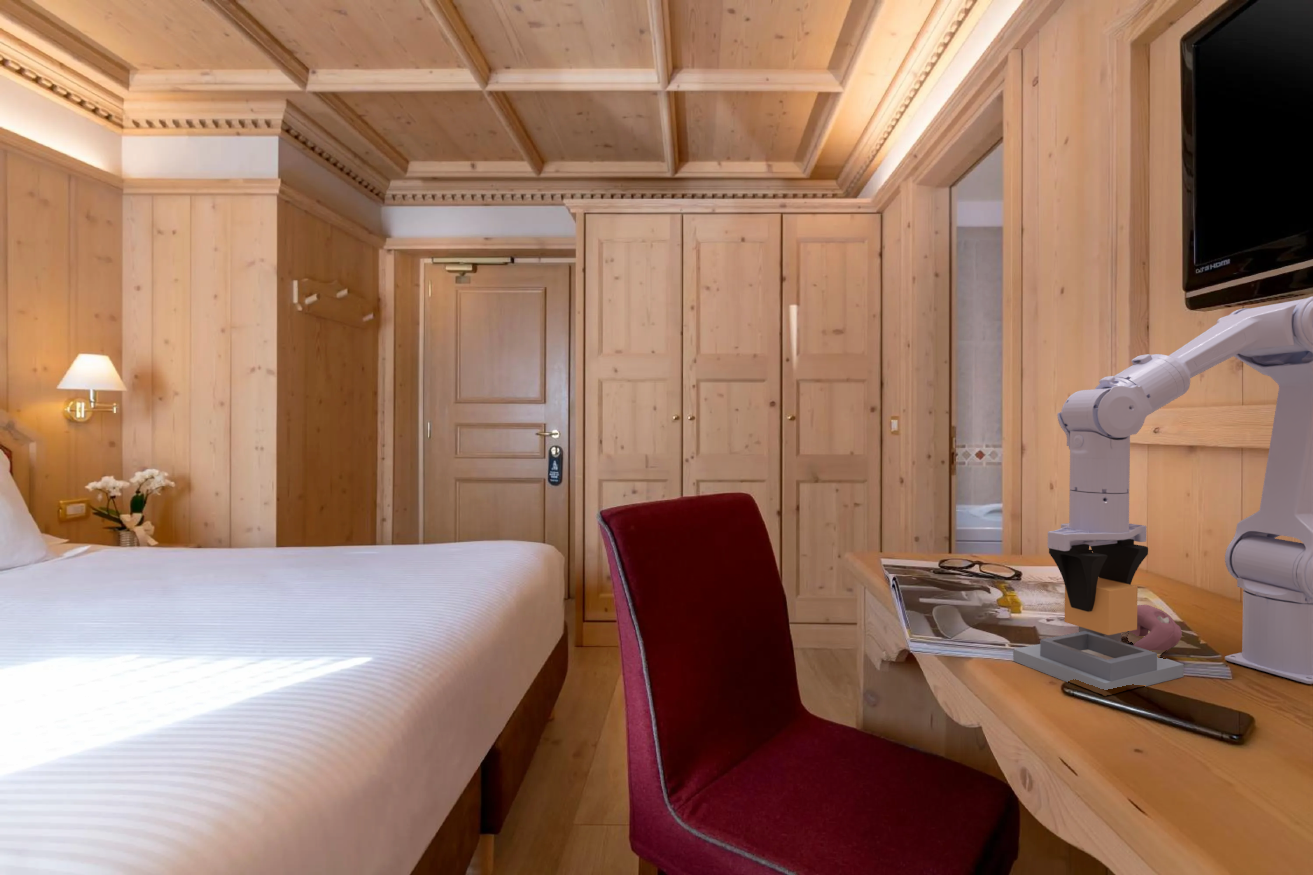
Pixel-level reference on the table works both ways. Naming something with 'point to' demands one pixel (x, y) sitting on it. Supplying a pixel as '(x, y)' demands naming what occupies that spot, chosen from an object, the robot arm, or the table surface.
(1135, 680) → the chassis
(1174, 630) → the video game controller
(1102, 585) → the orange cube
